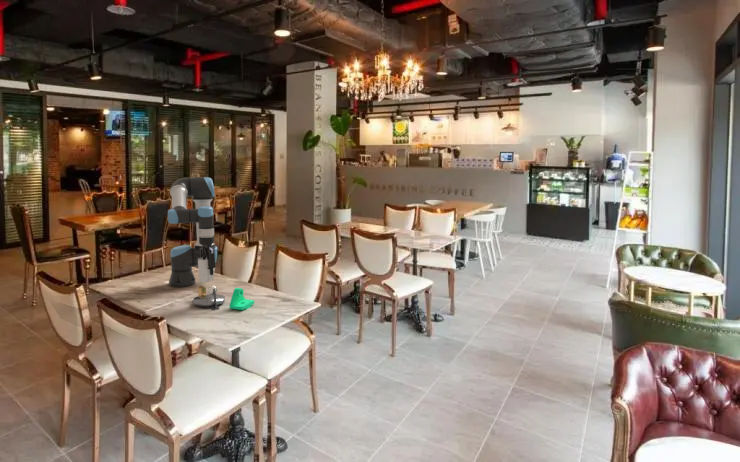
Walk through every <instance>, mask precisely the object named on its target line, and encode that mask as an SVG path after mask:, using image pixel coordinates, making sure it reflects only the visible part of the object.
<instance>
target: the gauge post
mask: <svg viewBox="0 0 740 462" xmlns="http://www.w3.org/2000/svg"><path fill="white" fill-rule="evenodd" d="M217 292H218V288H217V287H216V286H215V285H210V286H209V287H208V289H207V294H211V295H214V307H210V308H211V310H213V311H217V310H220V307H219V306H217V304H216V294H217Z"/></svg>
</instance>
